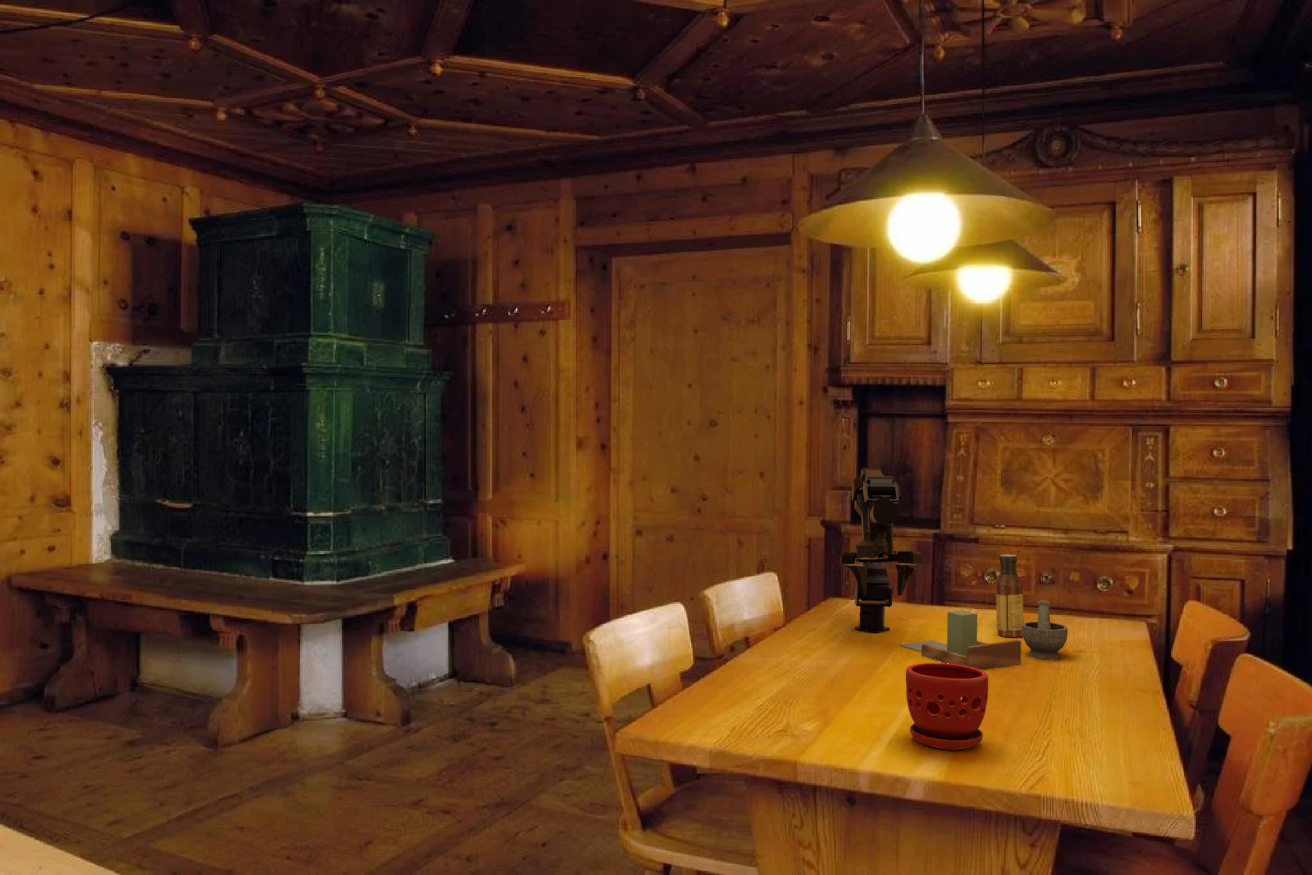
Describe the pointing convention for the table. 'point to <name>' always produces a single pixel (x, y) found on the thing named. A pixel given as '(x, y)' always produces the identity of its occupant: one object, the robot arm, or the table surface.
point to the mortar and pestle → (1044, 634)
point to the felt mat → (918, 645)
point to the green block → (961, 631)
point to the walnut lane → (979, 655)
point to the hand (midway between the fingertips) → (881, 595)
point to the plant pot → (946, 704)
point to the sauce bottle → (1009, 598)
